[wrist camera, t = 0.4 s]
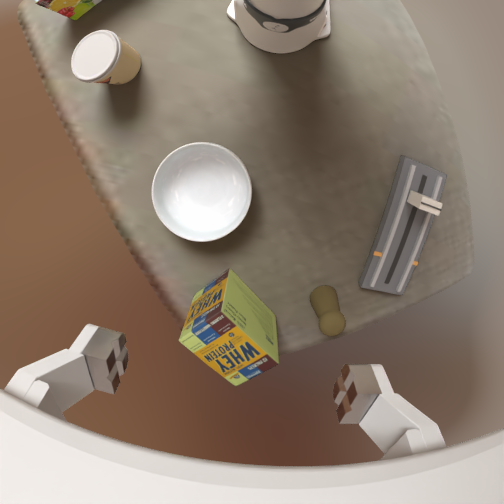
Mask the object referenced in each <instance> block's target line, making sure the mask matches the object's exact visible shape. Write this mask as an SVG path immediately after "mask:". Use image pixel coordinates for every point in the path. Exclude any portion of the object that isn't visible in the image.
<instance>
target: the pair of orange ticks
mask: <svg viewBox="0 0 504 504" xmlns="http://www.w3.org/2000/svg"><path fill="white" fill-rule="evenodd" d="M373 255H375V256H379V257H381V256H382V253H381V252H377V251H374V254H373ZM418 263H419V262H417V261H413V264H412V265H416V266H417V265H418Z"/></svg>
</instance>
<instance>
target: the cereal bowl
mask: <svg viewBox="0 0 504 504" xmlns="http://www.w3.org/2000/svg"><path fill="white" fill-rule="evenodd" d="M251 198H252V184H251V179H250V176H249V173H248V171H247V168H246V167H245V165H244V163H243V162H242V161H241V160H240V158H239V157H238V156H236V155H235V154H234V153H233V152H232V151H230V150H228V149H227V148H225V147H223V146H220V145H217V144H214V143H208V142H196V143H191V144H187V145H184V146H181V147H180V148H178V149H176V150H174V151H173V152H172V153H170V154H169V155H168V156H167V157H166V158H165V159H164V160H163V161H162V163H161V164H160V166H159V167H158V169H157V171H156V173H155V176H154V179H153V184H152V201H153V205H154V208H155V211H156V213H157V215H158V217H159V218H160V220H161V221H162V223H163V224H164V225H165V226H166V227H167V228H168V229H169V230H170V231H171V232H173V233H174V234H176V235H178V236H180V237H182V238H184V239H187V240H191V241H197V242H207V241H213V240H216V239H219V238H222V237H224V236H226V235H227V234H229V233H231V232H232V231H233V230H234V229H236V228H237V227H238V226H239V225H240V223H241V222H242V221H243V219H244V218H245V216H246V214H247V212H248V210H249V207H250V204H251Z"/></svg>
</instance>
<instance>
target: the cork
mask: <svg viewBox="0 0 504 504" xmlns="http://www.w3.org/2000/svg"><path fill="white" fill-rule="evenodd" d="M310 303H311V305H312V307H313V309H314V310H315V312H316V314H317V316H318V318H319V328H320V330H321V332H322V333H323V334H325V335H327V336H336V335H338V334H340V333H341V332H342V331H343V330H344V328H345V325H346V320H345V317H344V315H343V314H342V313H341V312H340V309H339V303H338V298H337V293H336V291H335V289H334V288H332V287H331V286H327V285H324V286H320V287H317V288H316V289H314V290H313V292H312V293H311V295H310Z"/></svg>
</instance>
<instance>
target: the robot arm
mask: <svg viewBox="0 0 504 504" xmlns="http://www.w3.org/2000/svg"><path fill="white" fill-rule="evenodd" d="M227 15H228V17H229V18H231V19H232V20H233V21H234V22H236V23H237V24H238V26H239V28H240V30H241V32H242V34H243V35H244V37H245V38H246V39H247V40H248V41H249V42H250V43H251V44H253V45H254V46H256V47H258V48H260V49H262V50H265V51H268V52H272V53H290V52H295V51H298V50H300V49H302V48H304V47H306V46H307V45H308V44H310V43H311V42H312V41H314V40H316V39H321V38H325V37H327V36H329V34H330V31H331V29H330V3H329V0H232V2H231V4H230V5H229V7H228V9H227ZM324 25H325V26H326V27H324ZM125 343H126V336H125V334H124V333H121V332H117V331H113V330H110V329H106V328H102V327H98V326H95V325H92V324H88V325H86V326H85V328H84V329H83V330H82V332H81V333H80V335H79V336H78V337H77V339H76V340H75V342H74V343H73V344H72V346H71V347H70V349H69V350H67V349H64V350H62V351H60V352H57V353H55V354H53V355H51V356H48V357H46V358H44V359H41V360H39V361H37V362H35V363H32V364H30V365H28V366H25V367H23V368H21V369H19V370H18V371H17V372H16V374H15V375H14V377H13V378H12V379H11V381H10V382H9V383H8V385H7V386H6V388H5V389H4V391H3V390H2V389H0V504H504V428H503V429H500V430H497V431H495V432H492V433H489V434H487V435H484V436H481V437H478V438H475V439H472V440H469V441H466V442H462V443H459V444H456V445H452V446H449V447H446V445H445V442H444V440H443V437H442V435H441V433H440V430H439V428H438V426H437V424H436V423H434V422H433V421H432V420H431V419H429V418H428V417H427V416H425V415H424V414H423V413H421V412H420V411H419V410H418V409H416V408H415V407H414V406H413V405H411V404H410V403H409V402H408V401H406V400H405V399H404V398H402V397H401V396H400V395H399V394H394V392H393V389H392V387H391V385H390V382H389V380H388V377H387V375H386V373H385V371H384V368H383V366H382V365H381V364H369V365H368V364H345V365H344V366H343V367H342V369H341V374H342V376H340V377H339V378H337V380H336V382H335V384H334V388H333V398H334V402H335V403H336V404H338V406H339V407H338V408H337V410H336V412H337V416H338V421H339V423H340V424H357V423H358V424H359V425H360V426H361V428H362V429H363V430H364V431H365V432H366V433H367V434H368V436H369V437H370V438H371V439H372V440H373V441H374V442H375V444H376V445H377V446H378V447H379V448H380V449H381V450H382V451H383V452H384V453H385V455H384V456H383V457H382V458H381V459H380V460H379V461H374V462H366V463H356V464H345V465H331V466H300V467H299V466H297V467H296V466H293V467H292V466H263V465H247V464H237V463H227V462H219V461H210V460H204V459H198V458H192V457H186V456H181V455H176V454H171V453H166V452H161V451H157V450H153V449H149V448H145V447H141V446H137V445H133V444H130V443H127V442H123V441H120V440H116V439H113V438H110V437H107V436H104V435H101V434H98V433H95V432H93V431H90V430H87V429H84V428H82V427H79V426H77V425H74V424H71V423H69V422H67V421H66V419H65V418H64V416H63V414H62V412H63V411H65V410H66V409H68V408H69V407H71V406H72V405H73V404H75V403H76V402H78V401H79V400H81V399H82V398H84V397H85V396H86V395H88V394H89V393H90V392H92V391H94V389H97V390H101V391H104V392H108V393H111V394H115V392H116V390H117V387H118V386H119V383H120V379H119V376H120V375H122V374H124V373H125V370H126V368H127V363H128V350H127V349H126V348H125V346H124V345H125Z"/></svg>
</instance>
